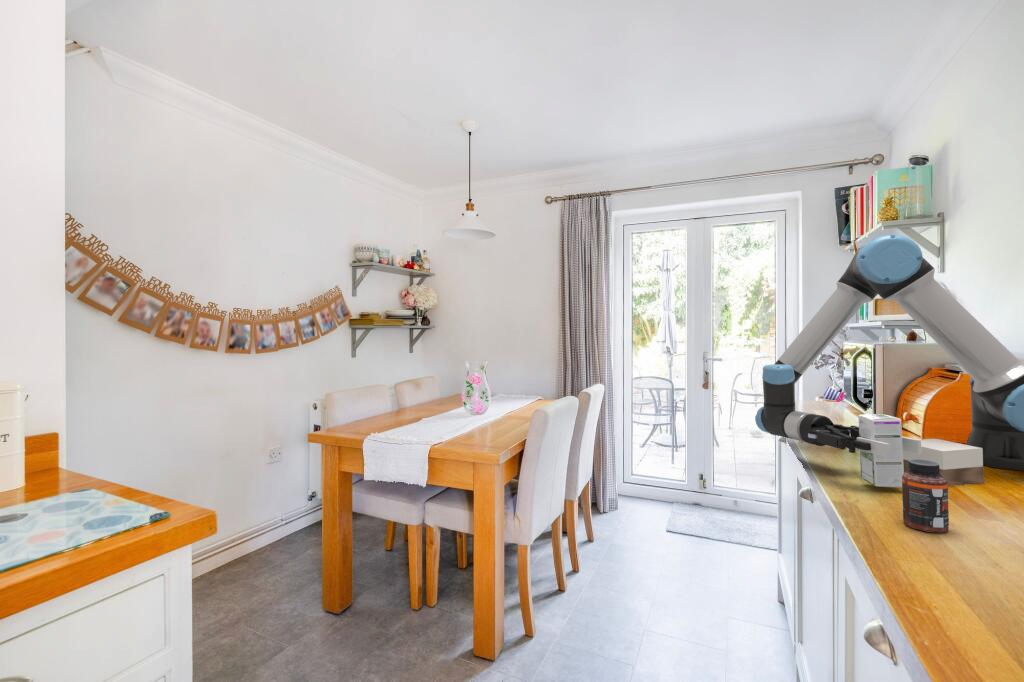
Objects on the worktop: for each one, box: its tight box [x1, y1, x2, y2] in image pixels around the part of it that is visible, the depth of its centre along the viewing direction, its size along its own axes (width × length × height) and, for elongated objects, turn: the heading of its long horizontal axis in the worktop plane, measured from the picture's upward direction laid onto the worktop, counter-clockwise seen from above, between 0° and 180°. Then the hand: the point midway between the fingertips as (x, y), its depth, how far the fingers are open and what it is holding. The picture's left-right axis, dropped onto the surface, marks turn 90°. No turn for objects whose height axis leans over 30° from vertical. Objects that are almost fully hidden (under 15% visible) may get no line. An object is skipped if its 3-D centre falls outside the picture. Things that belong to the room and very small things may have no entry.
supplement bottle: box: [901, 460, 950, 534], centre depth 80 cm, size 6×6×11 cm
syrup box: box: [858, 413, 904, 488], centre depth 100 cm, size 6×6×14 cm
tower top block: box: [903, 438, 984, 470], centre depth 105 cm, size 10×10×4 cm
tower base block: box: [903, 459, 985, 487], centre depth 105 cm, size 10×10×4 cm
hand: (904, 448), depth 95 cm, fingers closed on syrup box, 7 cm apart
